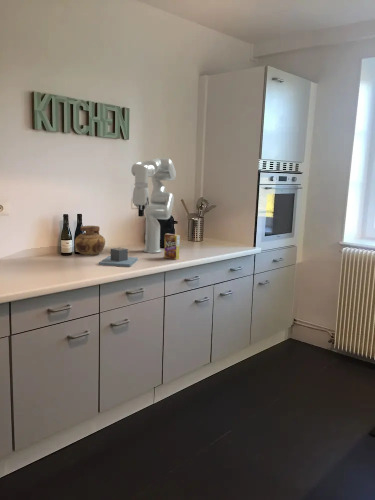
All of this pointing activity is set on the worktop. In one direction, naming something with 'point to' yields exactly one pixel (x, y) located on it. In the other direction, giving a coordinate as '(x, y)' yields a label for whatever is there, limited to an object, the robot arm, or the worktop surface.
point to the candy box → (172, 246)
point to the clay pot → (90, 241)
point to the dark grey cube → (119, 254)
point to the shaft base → (125, 263)
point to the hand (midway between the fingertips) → (141, 216)
